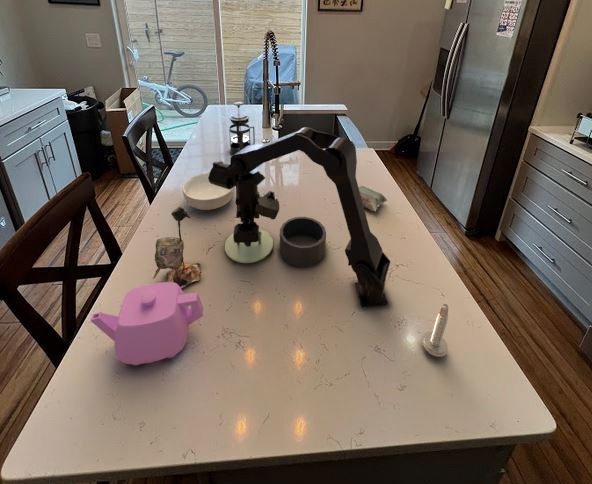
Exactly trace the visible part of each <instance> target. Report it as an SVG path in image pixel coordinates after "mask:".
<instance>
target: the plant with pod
mask: <svg viewBox="0 0 592 484" xmlns="http://www.w3.org/2000/svg"><path fill="white" fill-rule="evenodd" d="M171 216H172V218H173V219H174V220H175V221H176V222H177V227H178V237H176V236H167V237H160V238H158V237H159V235H156V238H157V239H156V241H155V254H154V262H155V265H156V267H157V269H156V270H155V272H154V275H153V277H152V279H153V280H154V279H155V278H156V277H157V275H158V274H159V273H160V271H161V270H166V269H170V270H169V271H167V272H166V273H165V275H164V276H165V279H166V281H165V282H173V283H177V284H178V285H179V287H180V288H181V289H183V288H184V287H186V286H188V285H189V284H193V282H197V281H200V279H201V276H202V271H201V263H199V262H196V263H193V264H191V263H185V261H184V249H185V245H184V244H185V242H184V240H183V239H182V233H181V222H182V221H183V220H185V219H186V218H187V219H191V216H190V215H189V213H188V210H187V209H185V207H184V206H177V208H175V209H174V210H172V211H171Z"/></svg>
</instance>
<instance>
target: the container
mask: <svg viewBox="0 0 592 484" xmlns="http://www.w3.org/2000/svg"><path fill="white" fill-rule="evenodd" d="M326 242H327V231H326V227H325V226H324V225H323V224H322V222H320V221H318V220H317V219H315V218H312V217H307V216H296V217H292V218H289V219H287V220H286V221H285V222H283V223H282V224H281V227H280V229H279V253H280V256H281V257H282V259H283V260H284V261H285V262H287V264H290V265H292V266H295V267H300V268H301V267H302V268H304V267H305V268H306V267H311V266H314V265H316V264H317V263H319V262H320V261H321V260H323V258H324V256H325V251H326Z"/></svg>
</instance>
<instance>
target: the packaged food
mask: <svg viewBox="0 0 592 484" xmlns="http://www.w3.org/2000/svg"><path fill="white" fill-rule="evenodd" d="M358 188H359V191H360V195H361V199H362V203H363V206H364V209H369V210H370V211H372V212H376V211H377V210H378V207H379V208H380V207H381V205H382V204H383V203H385V202H388V199H387V198H386V197H385V196H384V194H382V193H381V192H378V191H376V190H373V189H370V188H369V187H367V186H365V185H360V186H358Z"/></svg>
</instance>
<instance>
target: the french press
mask: <svg viewBox="0 0 592 484" xmlns="http://www.w3.org/2000/svg"><path fill="white" fill-rule="evenodd" d="M233 105H234V106H237V107H236V108H237V113H236V112H234V113H231V114H230V115H228V117H227V118H228V120H230V123H232V124H230V125H229V127H228V135H229V136H230V138H229V154H230V155H231V156H233V155H234V154H236V153H237V152H239V151H240V150H242V149H243V148H245V147H246V146H249V145H255V143H256V140H255V135H256V133H255V126H254V125H249V124H248V123H249V120H250V115H249V114H248V113H245V112H244V113H243V112H240V107H241V106H243V105H244V103H243V102H241V101H237V102H234V103H233ZM235 127H236V130H234V129H233V128H235ZM241 127H245V128H247V129H244V130H241ZM251 129H252V134H253V135H252V136H253V141H252V142H251ZM231 134H234V135H232V136H231ZM245 134H248V135H245Z"/></svg>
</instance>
